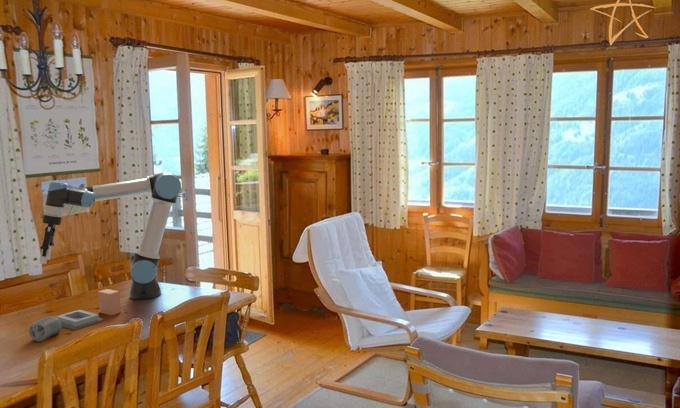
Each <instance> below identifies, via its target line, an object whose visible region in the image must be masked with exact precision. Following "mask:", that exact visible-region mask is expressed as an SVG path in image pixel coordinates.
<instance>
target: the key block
mask: <svg viewBox="0 0 680 408" xmlns="http://www.w3.org/2000/svg"><path fill="white" fill-rule="evenodd" d="M97 295H98V296H97V298H98V309H99V313H101V314H105V315H108V316H114V315H117V314H120V313H122V310H121V297H120V291H119V290H114V289H111V288H110V289H109V288H105V289H102V290H99V291H97Z"/></svg>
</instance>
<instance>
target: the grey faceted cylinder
mask: <svg viewBox="0 0 680 408" xmlns="http://www.w3.org/2000/svg"><path fill="white" fill-rule="evenodd" d="M62 328H63V327H62V325H61V322H60V320H59V319H58V318H57V317H56V315H50V316H46V317H43V318H41V319H39V320H37V321H35V322H34V323H31V325H30V326H29V327H28V334H29V336H30V338H31V339H32V340H34V342H36V343H37V342H38V343H40V342H43V341H45V340H46V339H48V338H51V337H52V336H54V335H57V334H58V333H60V332H61V331H62Z"/></svg>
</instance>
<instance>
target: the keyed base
mask: <svg viewBox="0 0 680 408" xmlns="http://www.w3.org/2000/svg"><path fill="white" fill-rule="evenodd" d="M55 317H57V318H58V319H59V320H60V322H61V325H62V328H66V329H69V330H72V331H75V330H79V329H82V328H85V327H87V326H91V325H94V324H97V323H101V322H104V318H101V317H100V316H99V314H97V313H94V312H90V311H85V310H83V309H77V310H73V311H69V312H66V313H63V314H60V315H55Z"/></svg>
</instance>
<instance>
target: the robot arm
mask: <svg viewBox="0 0 680 408" xmlns="http://www.w3.org/2000/svg"><path fill="white" fill-rule="evenodd" d="M181 183H182V182H181V180H180V178H179V177H178V176H177V175H176V174H174V173H173V172H169V171H163V172H161V173H160V172H159V173H156V174H152V175H147V176H146V178H140V179H133V180H132V179H131V180H126V181H118V182H111V183H106V184H97V185H92V186H91V185H90V186H86V187H85V186H81V187H77V188H70V187H68V183H66V182H61V181H60V182H59V181H51V182H49V185H48V189H47V194H46V201H45V206H43V210H44V215H43V216H42V217H43V218H42V223H43V224H46V225H47V226H46V227H45V229H44V230H45V231H44V237H43V241H42V245H41V246H40V248H39V249H41V253H40V258H39V264H41V265H47V262H48V261H50V260H51V255H52V248H53V247H54V246H55V243H54V240H55V239H54V238H55V233H56V230H57V229H56V226H60V225H61V224H62V216H63V213H64V208H65V207H64V206H65V205H71V206H76V207H83V208H92V207H94V206H93V204H94V202H101V201H106V200H113V199H114V200H115V199H120V198H126V197H134V196H139V195H147V194H149V195H151V200H152V206H151V209H150V213H149V216H148V219H147V222H146V226H145V230H144V233H143V237H142V240H141V244H140V247H139V249H138V250H136V251H132V252H130V253H129V259H130V277H131V285H130V290H129V299H132V300H148V299H154V298H157V297H159V296H160V295H161V294H162V290H161V288H160V285H159V282H158V280H157V274H158V267H159V263H160V259H161V257H160V255H159V251H160V247H161V244H162V241H163V240H162V239H163V237H164V233H165V229H166V225H167V223H168V220H169V216H170V215H169V214H170V212H171V208H172V206H174V205H176V202H177V199H178V195H179V194H180V192H181V190H182V184H181Z"/></svg>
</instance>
